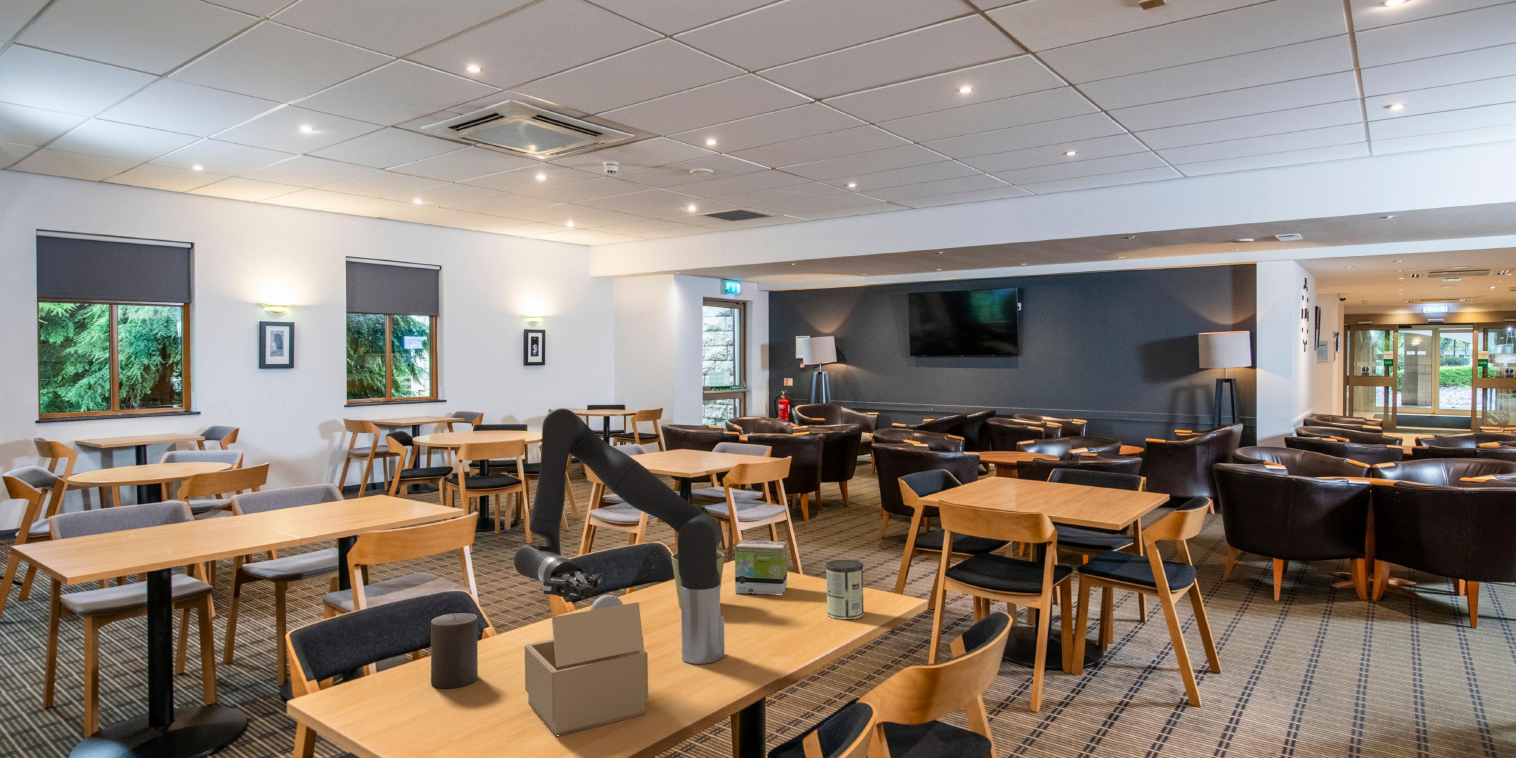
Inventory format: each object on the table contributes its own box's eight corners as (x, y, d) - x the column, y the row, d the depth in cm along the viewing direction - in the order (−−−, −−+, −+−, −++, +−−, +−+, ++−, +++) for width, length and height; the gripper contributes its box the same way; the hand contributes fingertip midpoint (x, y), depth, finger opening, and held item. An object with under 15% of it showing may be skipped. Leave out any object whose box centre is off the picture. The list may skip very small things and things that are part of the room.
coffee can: (836, 607, 229) (836, 557, 229) (870, 612, 224) (869, 562, 224) (819, 616, 221) (819, 565, 221) (853, 622, 215) (853, 569, 215)
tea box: (734, 594, 244) (734, 546, 244) (740, 586, 254) (740, 539, 254) (783, 596, 242) (782, 547, 242) (787, 587, 252) (787, 540, 252)
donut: (592, 639, 204) (592, 599, 204) (586, 635, 207) (585, 597, 207) (627, 630, 211) (626, 592, 211) (620, 627, 213) (620, 590, 213)
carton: (613, 683, 174) (612, 628, 174) (648, 713, 159) (647, 652, 159) (524, 703, 164) (523, 644, 164) (552, 737, 148) (551, 672, 148)
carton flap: (637, 602, 160) (638, 602, 160) (642, 648, 158) (644, 649, 158) (551, 617, 151) (552, 616, 150) (556, 666, 149) (557, 666, 148)
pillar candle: (450, 692, 171) (450, 621, 171) (421, 683, 176) (421, 614, 176) (487, 677, 179) (487, 610, 179) (458, 669, 184) (458, 604, 184)
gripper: (529, 561, 171) (554, 578, 156) (589, 553, 178) (618, 569, 163) (529, 596, 171) (554, 617, 156) (589, 587, 178) (618, 606, 163)
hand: (587, 592), depth 159 cm, fingers closed
